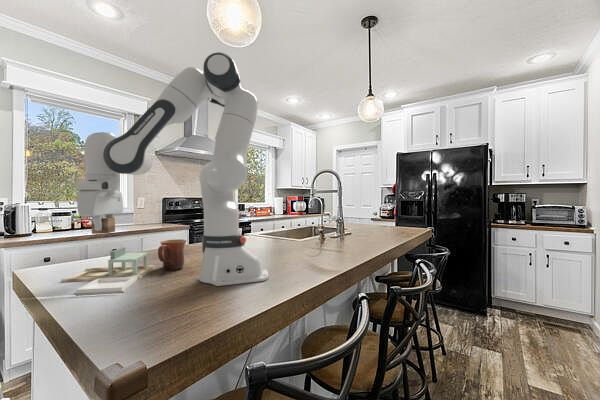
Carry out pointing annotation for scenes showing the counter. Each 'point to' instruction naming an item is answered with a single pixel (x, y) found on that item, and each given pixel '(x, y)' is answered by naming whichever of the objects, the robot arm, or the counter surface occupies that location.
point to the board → (95, 273)
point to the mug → (172, 254)
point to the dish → (106, 285)
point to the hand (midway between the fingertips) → (104, 229)
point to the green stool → (126, 260)
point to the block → (105, 226)
